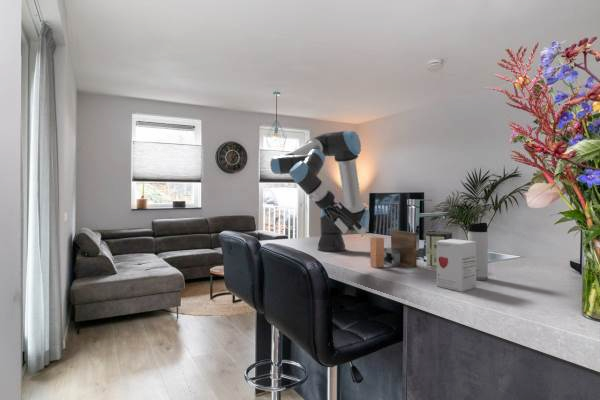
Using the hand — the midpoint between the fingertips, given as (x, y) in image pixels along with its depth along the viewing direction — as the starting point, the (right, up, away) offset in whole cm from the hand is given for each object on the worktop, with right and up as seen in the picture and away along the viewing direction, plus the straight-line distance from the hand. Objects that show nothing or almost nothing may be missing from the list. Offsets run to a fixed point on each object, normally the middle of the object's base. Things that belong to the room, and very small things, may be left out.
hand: (354, 232), depth 145 cm
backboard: (+21, -15, +9) cm, 27 cm away
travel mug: (+41, -15, -18) cm, 47 cm away
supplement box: (+28, -15, -29) cm, 43 cm away
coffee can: (+36, -15, +4) cm, 39 cm away
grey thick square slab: (+17, -15, +8) cm, 24 cm away
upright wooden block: (+14, -14, +6) cm, 21 cm away
